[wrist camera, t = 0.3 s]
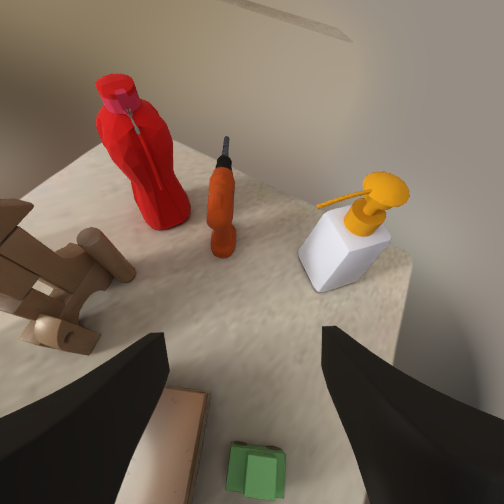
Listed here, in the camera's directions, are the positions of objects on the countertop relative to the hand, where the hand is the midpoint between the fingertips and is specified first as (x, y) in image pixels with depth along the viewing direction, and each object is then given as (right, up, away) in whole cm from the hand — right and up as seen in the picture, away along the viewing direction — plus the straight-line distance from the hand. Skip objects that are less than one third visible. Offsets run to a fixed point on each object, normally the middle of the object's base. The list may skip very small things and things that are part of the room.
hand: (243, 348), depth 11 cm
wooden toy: (-25, -4, +29) cm, 39 cm away
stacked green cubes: (+1, -23, +20) cm, 31 cm away
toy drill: (-5, +10, +39) cm, 41 cm away
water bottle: (-17, +12, +39) cm, 44 cm away
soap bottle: (+13, +1, +35) cm, 37 cm away
